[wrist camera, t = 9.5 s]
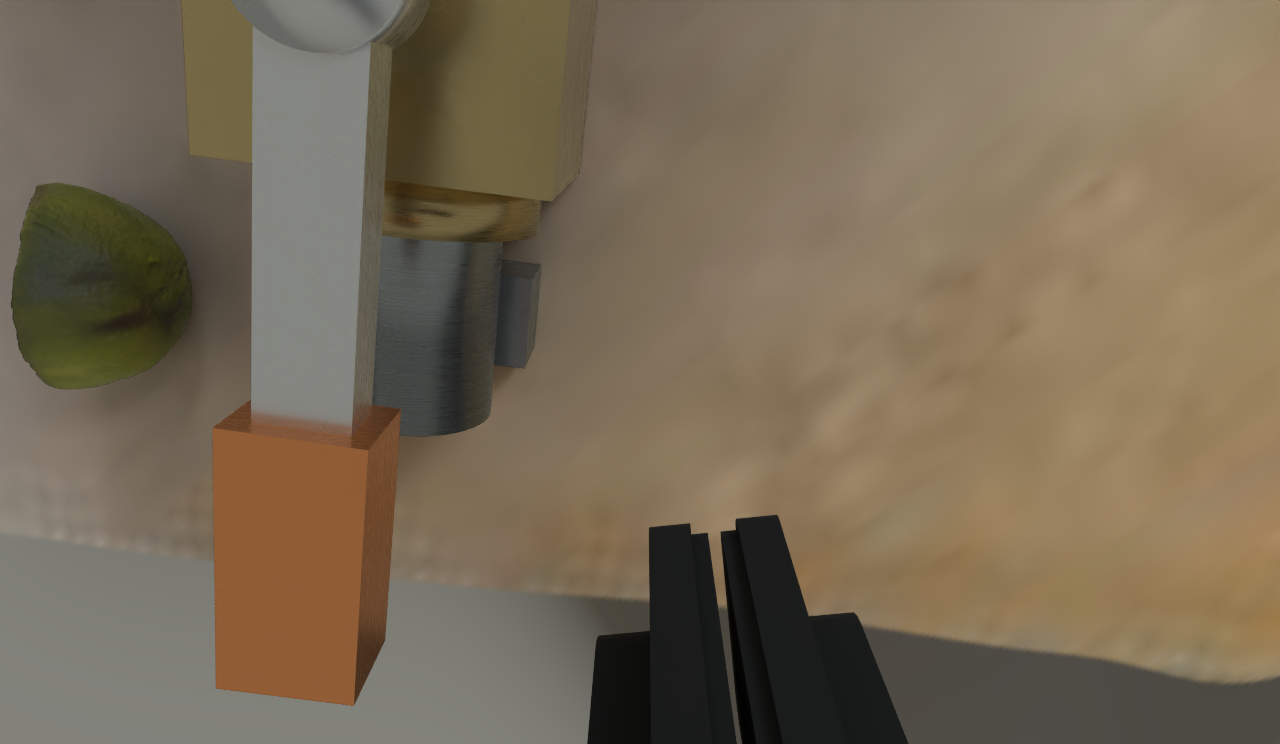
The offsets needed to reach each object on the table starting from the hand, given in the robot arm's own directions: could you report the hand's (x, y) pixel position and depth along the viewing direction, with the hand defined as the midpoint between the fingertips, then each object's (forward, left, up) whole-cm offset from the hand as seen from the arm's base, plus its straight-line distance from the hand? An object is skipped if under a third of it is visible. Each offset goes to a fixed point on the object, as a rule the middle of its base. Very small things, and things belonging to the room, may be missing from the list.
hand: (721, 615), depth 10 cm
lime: (0, -15, -13) cm, 20 cm away
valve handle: (-2, -7, -4) cm, 8 cm away
